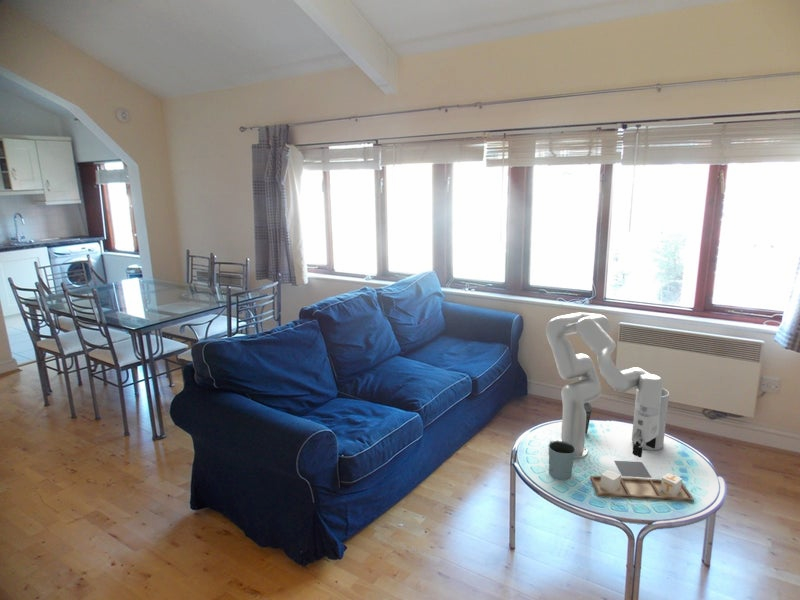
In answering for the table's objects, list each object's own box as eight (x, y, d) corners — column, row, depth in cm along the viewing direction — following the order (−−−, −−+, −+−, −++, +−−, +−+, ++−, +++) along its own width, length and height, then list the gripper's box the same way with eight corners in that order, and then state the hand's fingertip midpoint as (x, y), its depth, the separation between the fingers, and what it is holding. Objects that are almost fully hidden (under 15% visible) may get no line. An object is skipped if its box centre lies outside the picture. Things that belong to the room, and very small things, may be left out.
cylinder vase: (646, 452, 213) (651, 398, 207) (625, 438, 224) (630, 387, 218) (669, 448, 216) (676, 394, 210) (648, 434, 228) (653, 383, 222)
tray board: (597, 497, 184) (598, 493, 184) (590, 478, 195) (590, 475, 195) (693, 502, 180) (694, 499, 179) (680, 483, 191) (680, 480, 190)
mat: (621, 476, 196) (622, 475, 196) (613, 461, 207) (614, 460, 206) (651, 478, 195) (651, 477, 194) (641, 462, 205) (642, 462, 205)
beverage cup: (585, 437, 226) (588, 396, 222) (570, 431, 232) (573, 391, 227) (593, 432, 231) (596, 391, 226) (578, 426, 236) (581, 387, 232)
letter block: (680, 491, 185) (682, 478, 184) (674, 497, 182) (675, 483, 181) (666, 485, 189) (668, 472, 188) (660, 490, 186) (661, 477, 185)
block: (619, 488, 188) (620, 475, 187) (612, 493, 185) (613, 480, 184) (607, 482, 192) (608, 469, 191) (600, 487, 189) (601, 474, 188)
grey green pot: (541, 471, 201) (543, 444, 198) (559, 464, 205) (561, 438, 203) (561, 484, 192) (562, 456, 189) (579, 476, 197) (581, 449, 194)
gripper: (646, 419, 172) (641, 463, 175) (670, 405, 182) (665, 447, 186) (625, 411, 177) (621, 455, 181) (649, 398, 187) (645, 439, 191)
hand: (643, 451), depth 183 cm, fingers open, 9 cm apart
